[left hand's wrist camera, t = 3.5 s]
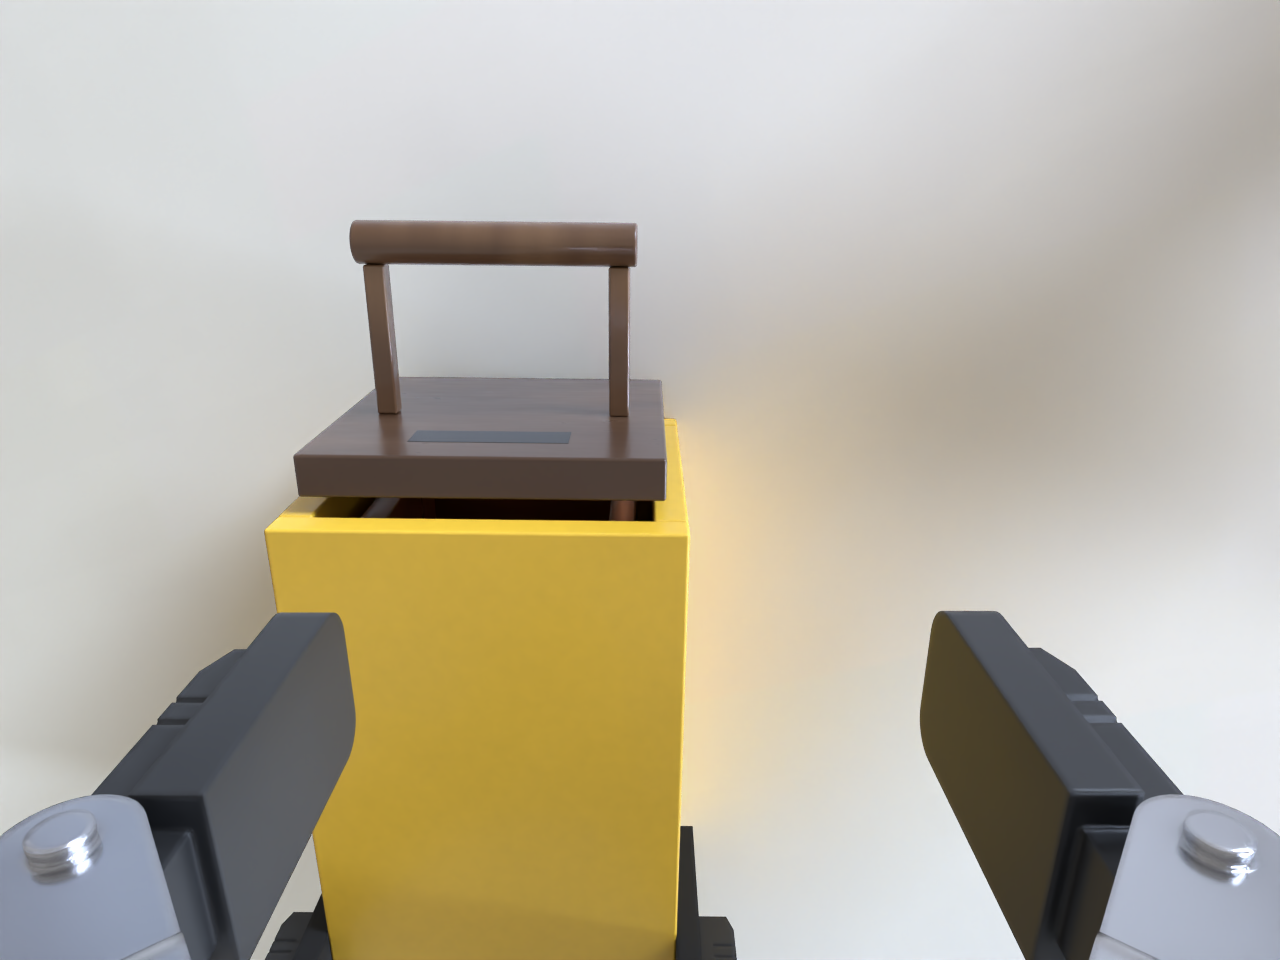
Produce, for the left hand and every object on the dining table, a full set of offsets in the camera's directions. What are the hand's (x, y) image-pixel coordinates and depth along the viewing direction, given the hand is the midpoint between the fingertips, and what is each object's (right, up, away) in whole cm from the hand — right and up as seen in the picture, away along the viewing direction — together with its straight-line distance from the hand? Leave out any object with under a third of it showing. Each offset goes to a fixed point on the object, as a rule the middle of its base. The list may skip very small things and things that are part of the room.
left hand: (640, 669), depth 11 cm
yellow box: (-4, -4, +23) cm, 24 cm away
